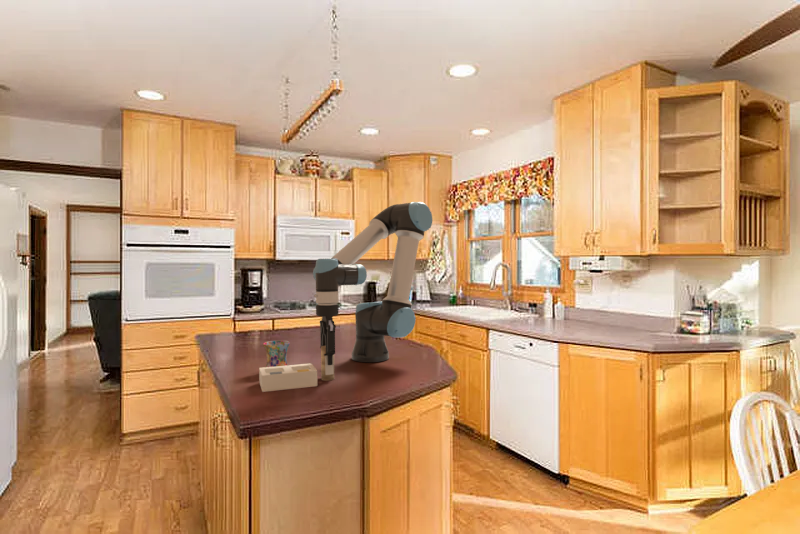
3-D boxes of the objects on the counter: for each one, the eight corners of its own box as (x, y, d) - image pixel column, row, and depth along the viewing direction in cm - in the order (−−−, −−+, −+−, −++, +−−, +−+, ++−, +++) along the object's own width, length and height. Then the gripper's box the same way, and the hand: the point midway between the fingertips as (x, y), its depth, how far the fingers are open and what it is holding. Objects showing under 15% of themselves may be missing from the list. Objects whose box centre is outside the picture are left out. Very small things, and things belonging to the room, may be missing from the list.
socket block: (311, 377, 157) (311, 362, 157) (317, 386, 147) (317, 369, 146) (259, 382, 151) (259, 367, 151) (262, 391, 140) (261, 375, 140)
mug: (291, 373, 163) (291, 344, 163) (264, 376, 159) (264, 345, 159) (287, 366, 174) (287, 338, 174) (261, 368, 171) (261, 340, 170)
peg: (332, 376, 158) (332, 345, 158) (335, 379, 154) (335, 347, 154) (320, 378, 157) (319, 346, 156) (322, 381, 153) (322, 348, 152)
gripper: (311, 302, 162) (311, 367, 162) (321, 306, 145) (322, 379, 146) (332, 301, 165) (332, 366, 165) (344, 305, 148) (345, 377, 149)
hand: (327, 372), depth 155 cm, fingers open, 4 cm apart
